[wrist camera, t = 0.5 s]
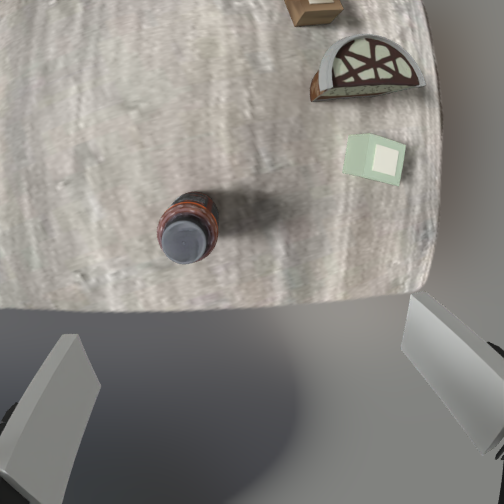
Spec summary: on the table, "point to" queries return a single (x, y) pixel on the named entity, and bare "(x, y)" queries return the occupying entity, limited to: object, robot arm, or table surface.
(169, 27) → the table surface
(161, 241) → the supplement bottle
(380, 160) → the sage block
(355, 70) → the food container
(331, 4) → the walnut block
